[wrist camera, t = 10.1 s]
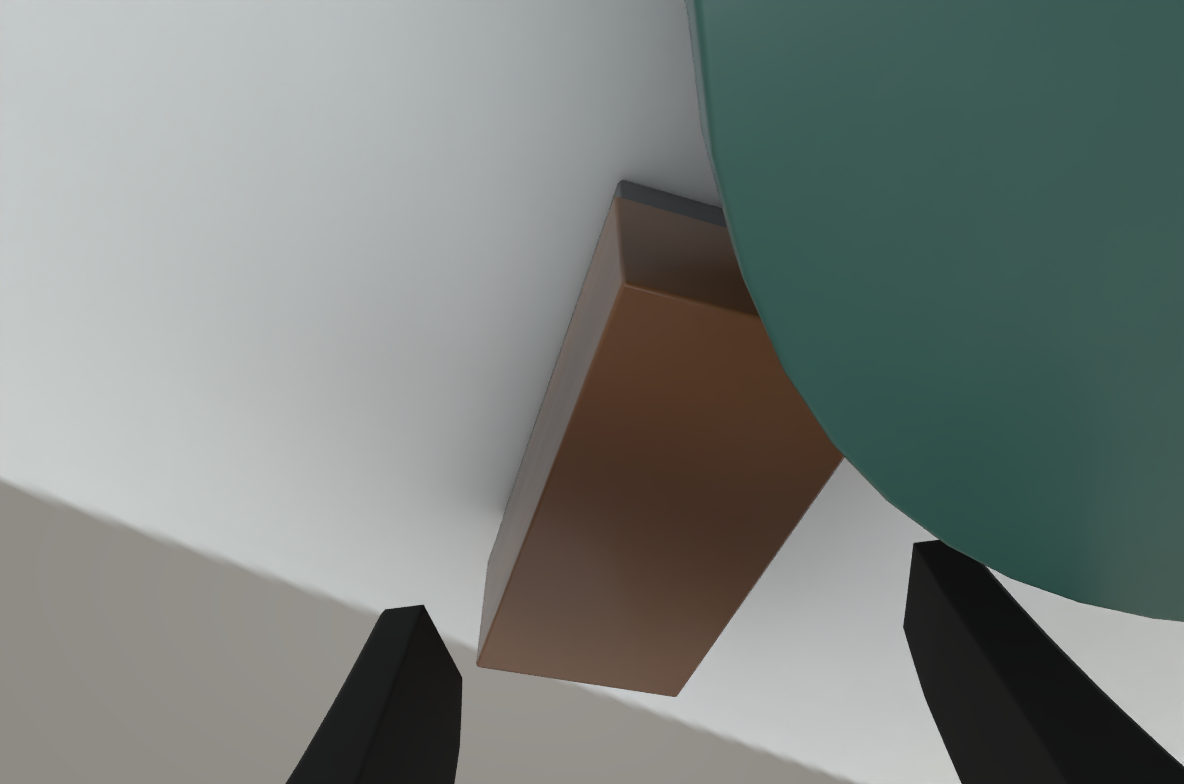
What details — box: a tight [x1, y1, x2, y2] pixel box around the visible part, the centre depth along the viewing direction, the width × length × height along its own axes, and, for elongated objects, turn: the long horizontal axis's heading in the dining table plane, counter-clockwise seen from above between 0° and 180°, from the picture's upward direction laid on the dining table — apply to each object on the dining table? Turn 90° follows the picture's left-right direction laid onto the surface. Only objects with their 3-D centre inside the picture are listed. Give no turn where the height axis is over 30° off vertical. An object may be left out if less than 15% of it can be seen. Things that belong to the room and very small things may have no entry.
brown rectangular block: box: [476, 180, 844, 697], centre depth 14 cm, size 9×4×4 cm, turn 163°
